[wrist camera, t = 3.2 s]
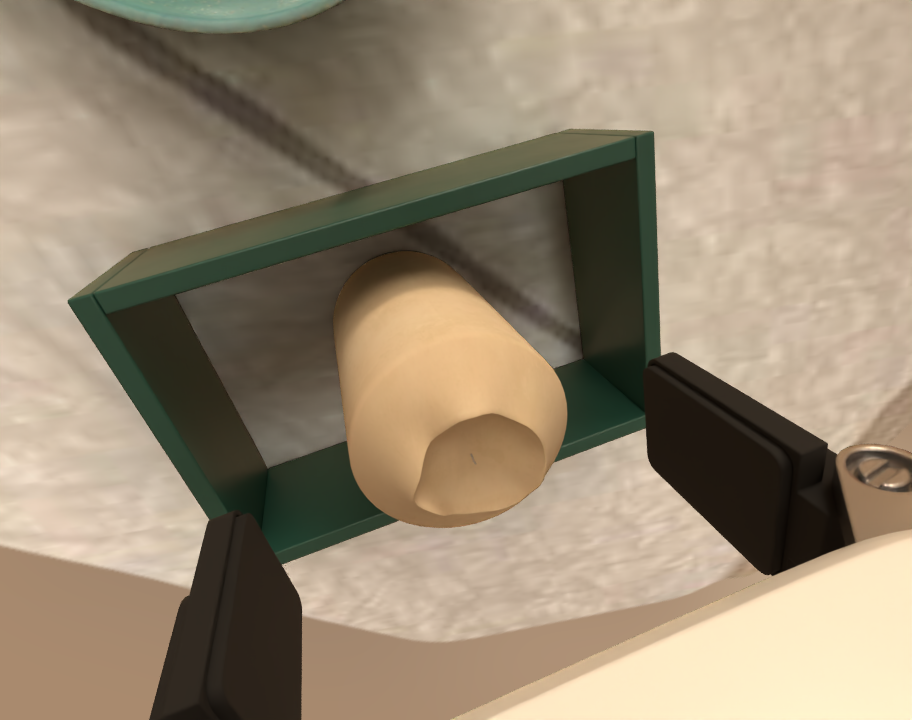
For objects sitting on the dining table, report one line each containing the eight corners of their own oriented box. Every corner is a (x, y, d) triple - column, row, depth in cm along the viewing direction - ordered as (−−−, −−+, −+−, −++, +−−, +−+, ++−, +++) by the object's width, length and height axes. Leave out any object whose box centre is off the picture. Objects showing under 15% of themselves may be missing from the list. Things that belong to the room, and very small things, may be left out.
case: (130, 252, 16) (64, 301, 12) (571, 128, 18) (654, 130, 14) (259, 483, 21) (246, 578, 17) (596, 365, 23) (663, 422, 19)
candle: (347, 393, 20) (377, 599, 12) (318, 261, 18) (328, 396, 9) (476, 366, 21) (593, 536, 13) (465, 238, 19) (602, 339, 10)
